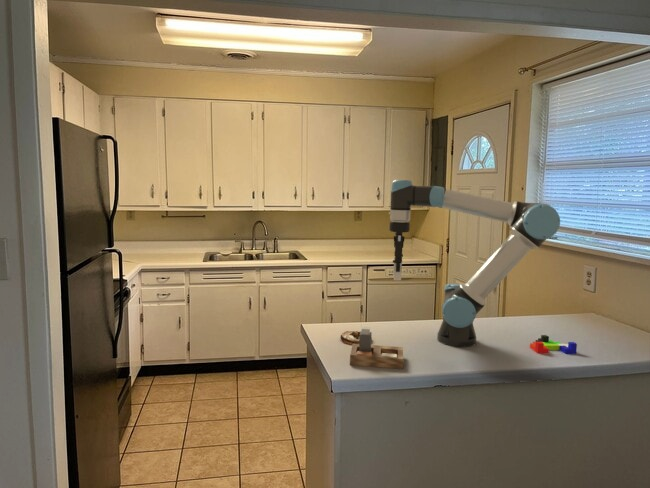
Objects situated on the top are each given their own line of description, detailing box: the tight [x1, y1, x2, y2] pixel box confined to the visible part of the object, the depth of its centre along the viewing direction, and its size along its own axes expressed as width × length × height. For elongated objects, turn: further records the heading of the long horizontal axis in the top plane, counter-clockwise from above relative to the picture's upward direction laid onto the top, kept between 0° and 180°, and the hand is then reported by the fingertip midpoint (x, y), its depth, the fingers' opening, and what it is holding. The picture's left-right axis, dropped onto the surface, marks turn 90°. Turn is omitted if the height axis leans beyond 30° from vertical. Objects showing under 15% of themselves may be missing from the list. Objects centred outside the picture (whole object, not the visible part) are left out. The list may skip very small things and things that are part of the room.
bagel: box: [339, 330, 373, 346], centre depth 193 cm, size 15×15×4 cm
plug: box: [359, 326, 373, 352], centre depth 171 cm, size 4×4×10 cm
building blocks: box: [529, 334, 578, 355], centre depth 190 cm, size 15×13×4 cm
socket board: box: [349, 344, 404, 370], centre depth 171 cm, size 18×12×4 cm, turn 82°
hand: (397, 276), depth 186 cm, fingers open, 13 cm apart
